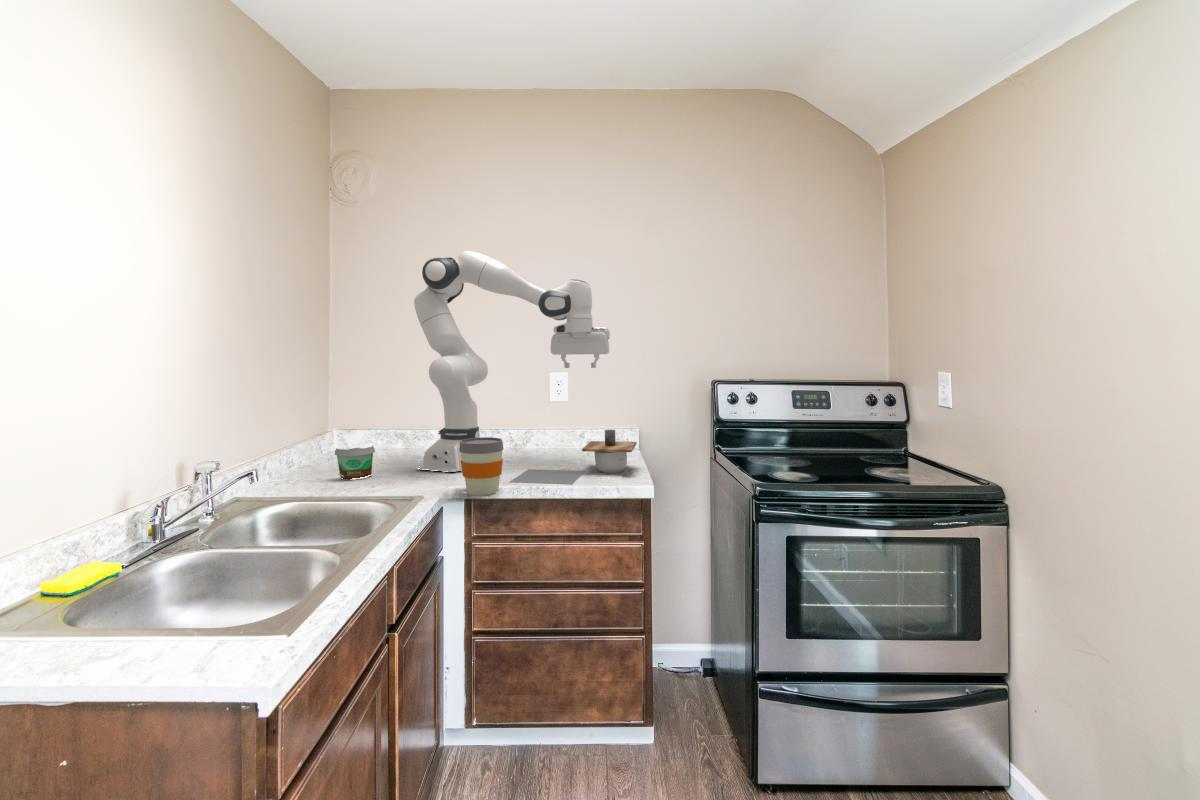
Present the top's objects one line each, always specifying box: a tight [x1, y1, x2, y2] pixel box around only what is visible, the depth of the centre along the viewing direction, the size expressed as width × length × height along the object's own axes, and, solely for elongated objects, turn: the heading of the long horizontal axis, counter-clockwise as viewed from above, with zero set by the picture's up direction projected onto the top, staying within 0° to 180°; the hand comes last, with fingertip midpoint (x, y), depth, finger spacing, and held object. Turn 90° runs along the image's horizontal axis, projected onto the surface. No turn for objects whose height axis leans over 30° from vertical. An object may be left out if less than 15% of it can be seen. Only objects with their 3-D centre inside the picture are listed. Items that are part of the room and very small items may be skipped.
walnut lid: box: [581, 429, 638, 453], centre depth 205 cm, size 16×16×6 cm
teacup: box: [594, 452, 628, 474], centre depth 206 cm, size 14×11×8 cm
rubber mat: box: [508, 468, 587, 486], centre depth 197 cm, size 20×20×1 cm
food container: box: [334, 445, 376, 480], centre depth 198 cm, size 12×6×10 cm, turn 118°
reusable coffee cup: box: [459, 436, 504, 497], centre depth 178 cm, size 13×12×15 cm
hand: (580, 367), depth 213 cm, fingers open, 8 cm apart
